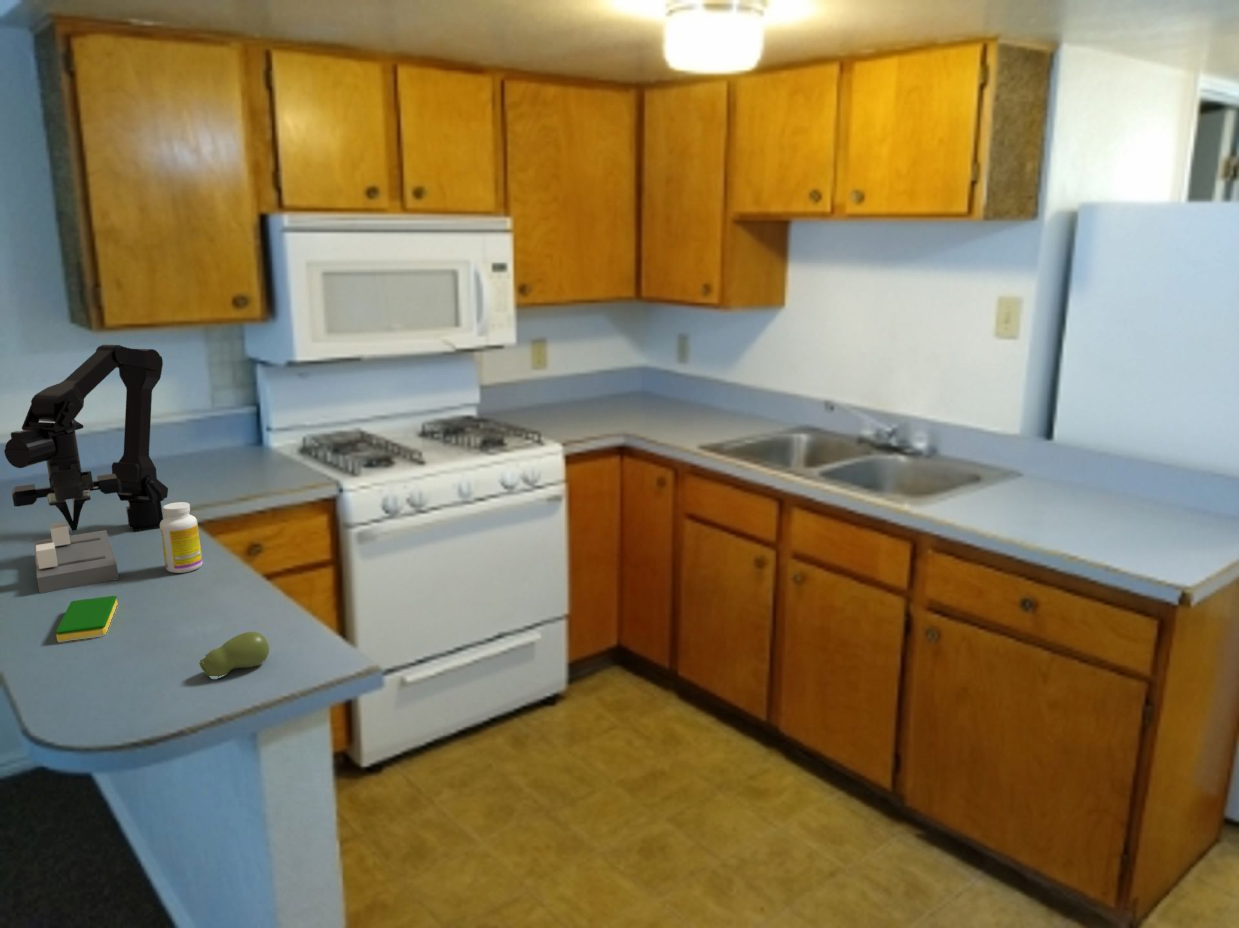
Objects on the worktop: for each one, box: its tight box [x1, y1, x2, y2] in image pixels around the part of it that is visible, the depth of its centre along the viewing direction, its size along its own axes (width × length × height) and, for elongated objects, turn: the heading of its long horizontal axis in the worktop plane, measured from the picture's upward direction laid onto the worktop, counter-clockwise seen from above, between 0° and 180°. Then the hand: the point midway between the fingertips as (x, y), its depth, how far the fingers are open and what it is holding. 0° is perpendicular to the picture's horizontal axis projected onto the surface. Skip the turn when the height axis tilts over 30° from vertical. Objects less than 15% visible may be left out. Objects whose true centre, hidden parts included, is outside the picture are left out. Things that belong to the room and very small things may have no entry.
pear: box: [199, 631, 270, 677], centre depth 144 cm, size 6×5×10 cm
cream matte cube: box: [49, 521, 71, 546], centre depth 191 cm, size 3×4×4 cm
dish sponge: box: [55, 595, 119, 642], centre depth 161 cm, size 7×14×2 cm, turn 20°
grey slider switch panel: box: [33, 529, 119, 594], centre depth 187 cm, size 13×24×3 cm, turn 32°
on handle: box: [36, 542, 58, 569], centre depth 178 cm, size 3×4×4 cm
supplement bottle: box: [159, 501, 203, 574], centre depth 185 cm, size 7×7×13 cm
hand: (74, 530), depth 192 cm, fingers closed
